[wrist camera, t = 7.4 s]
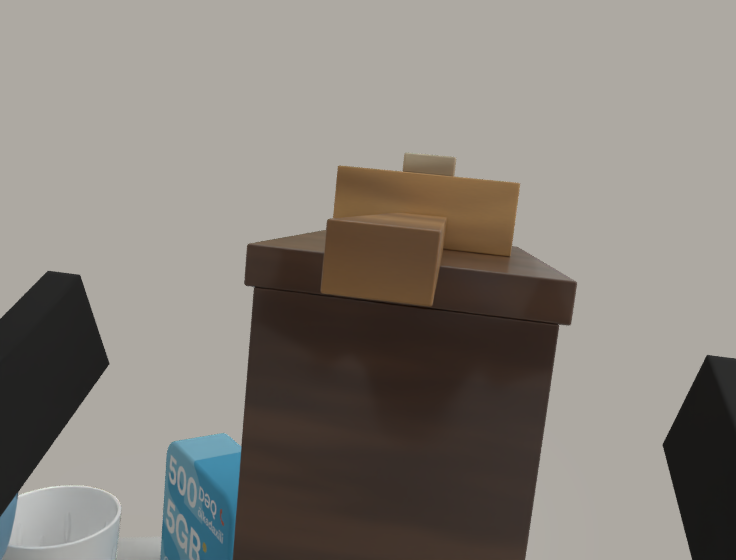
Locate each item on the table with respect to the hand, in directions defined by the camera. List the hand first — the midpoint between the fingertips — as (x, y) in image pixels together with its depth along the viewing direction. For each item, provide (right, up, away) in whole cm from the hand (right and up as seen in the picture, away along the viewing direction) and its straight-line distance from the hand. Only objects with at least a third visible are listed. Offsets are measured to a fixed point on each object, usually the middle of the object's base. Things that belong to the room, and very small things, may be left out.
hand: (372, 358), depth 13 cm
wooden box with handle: (+2, +3, +13) cm, 14 cm away
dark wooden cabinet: (0, -26, +22) cm, 34 cm away
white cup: (-21, -23, +28) cm, 42 cm away
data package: (-12, -24, +34) cm, 43 cm away
